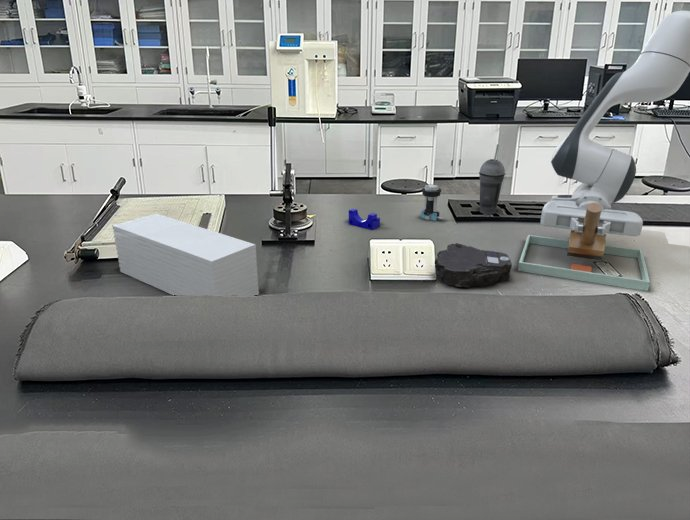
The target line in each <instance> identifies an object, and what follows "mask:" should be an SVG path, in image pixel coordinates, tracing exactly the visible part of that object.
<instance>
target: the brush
mask: <svg viewBox="0 0 690 520" xmlns="http://www.w3.org/2000/svg"><path fill="white" fill-rule="evenodd" d="M601 211H602V206H601V205H600V204H598V203H590V204H589V205H588V206H587V210H586V214H585V219H584V224H583V225H584V226H583V232H582V233H576V232H575V230H573V229H570V233H569V239H568V240H569V245H568V249H567V254H566V256H568V257H575V258H581V259H588V260H589V259H590V260H597V261H602V260H603V258H604V248H605V245H606V237H607V233H606V234H604V236H601V235H596V232H597V228H598V224H599V220H600V215H601Z"/></svg>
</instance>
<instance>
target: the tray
mask: <svg viewBox="0 0 690 520" xmlns="http://www.w3.org/2000/svg"><path fill="white" fill-rule="evenodd" d="M524 242H525V243H524V245H523V249H522V251H521V254H520V258H519V261H518V265H517V272H524V273H530V274H536V275H543V276H550V277H555V278H561V279H569V280H575V281H582V282H587V283H592V284H600V285H606V286H612V287H613V286H614V287H619V288H626V289H631V290H632V289H633V290H637V291H638V290H639V291H646V292H648V291H649V288H650V284H651V281H650V280H651V279H650V276H649V271H648V268H647V264H646V260H645V259H646V258H645V254H644V252H643V251H644V250H643V249H639V248H632V247H624V246H616V245H609V244H605V248H604V254H606V255H612V256H620V257H626V258H635V259H637V260H638V267H639V269H640V275H641V279H639V278H632V277H624V276H618V275H613V274H612V275H611V274H605V273H599V272H598V273H597V272H585V271H579V270H572V269H571V268H566V267H558V266H551V265H546V264H545V265H544V264H539V263H532V262H525V259H526V254H527V251H528V248H529V245H531V244H533V245H540V246H547V247H554V248H561V249H567V250H568V245H569V239H563V238H557V237H556V238H555V237H548V236H541V235H534V234H533V235H532V234H528V235H527V237H526V239H525V241H524ZM604 254H603V255H604Z"/></svg>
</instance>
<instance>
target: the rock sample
mask: <svg viewBox="0 0 690 520" xmlns="http://www.w3.org/2000/svg"><path fill="white" fill-rule="evenodd" d="M436 256H437V257H436V258H435V260H434V268H435V269H436V274H437V279H438V280H439V281H440V282H443V283H445V284H447V286H448V285H449V286H451V287H457V288H464V289H465V288H467V289H468V288H474V287H477V288H482V287H489V286H493V285H495V283H504V282H508V281H509V279H510V275H511V270H512V267H513V264H512V261H511V260H512V259H511V258H510V256H509V254H507V253H504V252H502V251H501V252H500V251H494V250H484V249H479V248H476V247H474V246H471V245H466V244H461V243H458V242H455V243H451V244H448V245H447V248H446V249H444V250H439V252H437V254H436Z"/></svg>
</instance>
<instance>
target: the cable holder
mask: <svg viewBox="0 0 690 520" xmlns="http://www.w3.org/2000/svg"><path fill="white" fill-rule="evenodd" d="M358 211H359V210H358V209H357V208H351V209H348V225H350V226H355V227H359V228H363V229H367V230H371V231H374V230H375V229H379V228H380V227H381V218H380V217H378V213H375V212H371V213H369V214H368V215H367V218H366V219H363V218H362V217H361V216H360V215H359V212H358Z"/></svg>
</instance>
